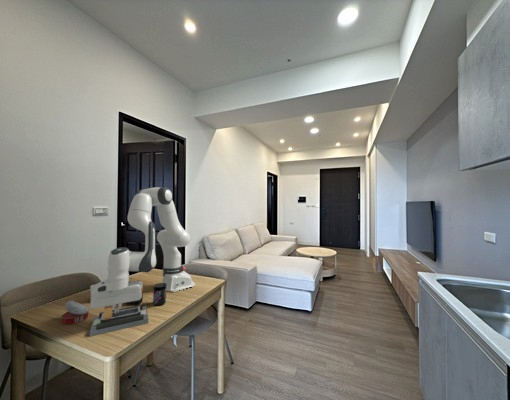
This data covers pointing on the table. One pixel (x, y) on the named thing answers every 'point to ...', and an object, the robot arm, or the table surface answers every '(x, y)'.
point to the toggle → (108, 312)
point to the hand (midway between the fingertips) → (116, 312)
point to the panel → (117, 327)
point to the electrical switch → (92, 290)
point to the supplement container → (159, 294)
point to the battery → (137, 300)
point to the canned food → (74, 313)
